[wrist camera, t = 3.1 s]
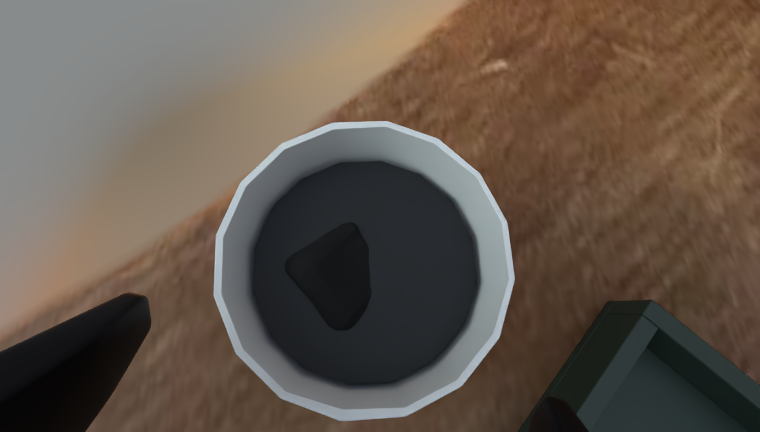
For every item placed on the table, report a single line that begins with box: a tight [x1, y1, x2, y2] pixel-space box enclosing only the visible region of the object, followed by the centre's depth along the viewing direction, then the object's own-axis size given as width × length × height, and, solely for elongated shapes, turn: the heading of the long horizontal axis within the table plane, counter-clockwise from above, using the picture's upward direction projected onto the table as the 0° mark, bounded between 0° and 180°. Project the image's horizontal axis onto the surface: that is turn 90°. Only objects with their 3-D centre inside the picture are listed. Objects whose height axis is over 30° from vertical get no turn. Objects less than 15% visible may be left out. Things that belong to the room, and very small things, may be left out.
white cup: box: [214, 121, 515, 421], centre depth 14 cm, size 7×7×10 cm
